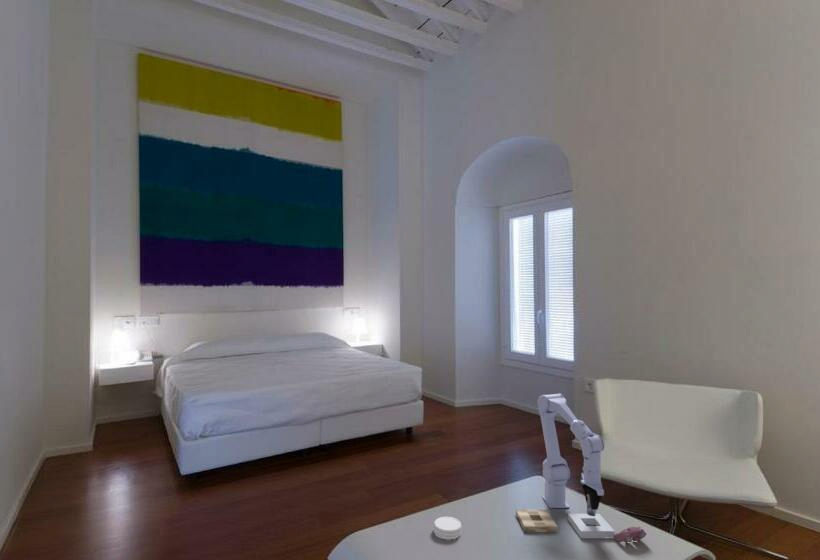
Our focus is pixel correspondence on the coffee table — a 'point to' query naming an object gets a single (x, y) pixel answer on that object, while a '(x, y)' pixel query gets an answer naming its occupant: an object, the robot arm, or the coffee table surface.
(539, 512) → the pin mount
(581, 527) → the dock
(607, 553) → the coffee table surface
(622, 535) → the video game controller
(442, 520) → the white round disc
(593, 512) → the lock pin
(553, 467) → the robot arm
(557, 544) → the coffee table surface
